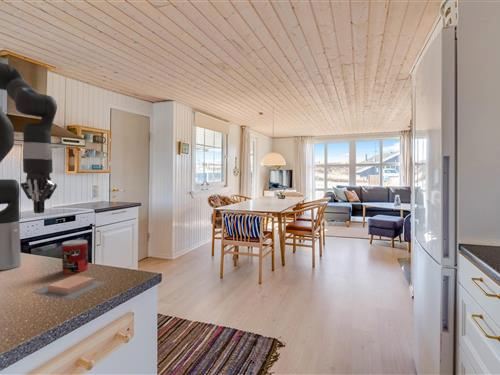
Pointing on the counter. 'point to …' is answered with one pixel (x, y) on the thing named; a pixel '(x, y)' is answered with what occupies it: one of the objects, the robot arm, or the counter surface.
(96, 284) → the mat
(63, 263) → the canned food
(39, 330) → the counter surface
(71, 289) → the block
